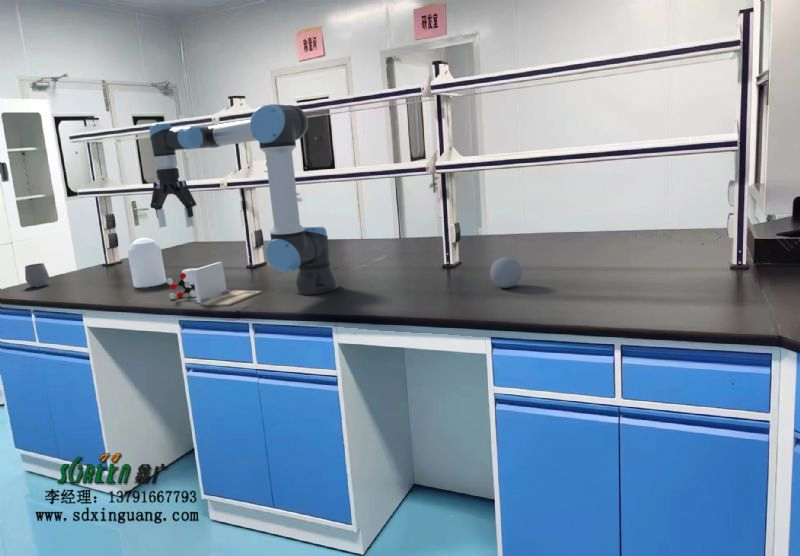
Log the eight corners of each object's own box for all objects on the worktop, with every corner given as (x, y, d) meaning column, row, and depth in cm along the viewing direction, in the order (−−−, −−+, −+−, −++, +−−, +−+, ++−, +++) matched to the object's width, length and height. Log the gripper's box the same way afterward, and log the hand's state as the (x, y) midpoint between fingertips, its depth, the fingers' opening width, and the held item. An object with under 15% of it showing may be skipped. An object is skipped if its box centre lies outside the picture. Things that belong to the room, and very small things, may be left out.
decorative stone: (488, 291, 199) (486, 260, 197) (495, 283, 208) (493, 254, 206) (519, 291, 195) (517, 260, 193) (524, 283, 204) (523, 254, 202)
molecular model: (190, 303, 238) (194, 278, 240) (205, 303, 234) (209, 277, 236) (157, 296, 225) (161, 269, 227) (172, 296, 221) (176, 269, 223)
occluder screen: (230, 293, 231) (225, 261, 228) (204, 303, 219) (198, 270, 216) (220, 292, 233) (215, 261, 230) (193, 302, 221) (188, 270, 218)
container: (155, 279, 273) (147, 234, 269) (173, 281, 265) (165, 235, 261) (127, 286, 262) (118, 240, 258) (145, 288, 255) (136, 241, 250)
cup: (42, 283, 289) (37, 262, 287) (55, 283, 285) (50, 262, 282) (22, 288, 280) (18, 267, 278) (35, 289, 276) (30, 267, 274)
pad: (261, 292, 227) (261, 290, 227) (229, 305, 211) (228, 304, 211) (234, 291, 233) (233, 290, 232) (200, 304, 217) (200, 302, 217)
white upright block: (204, 287, 245) (201, 268, 244) (193, 291, 240) (190, 271, 239) (192, 287, 248) (189, 268, 246) (181, 291, 243) (178, 271, 241)
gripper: (200, 165, 219) (209, 224, 223) (150, 169, 230) (159, 225, 234) (185, 166, 212) (194, 227, 217) (133, 170, 223) (144, 228, 228)
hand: (176, 226), depth 226 cm, fingers open, 13 cm apart
